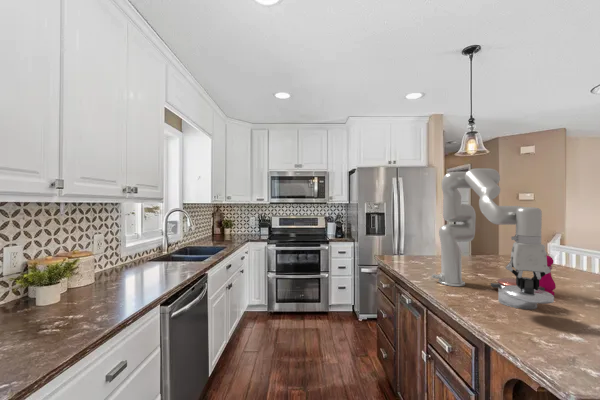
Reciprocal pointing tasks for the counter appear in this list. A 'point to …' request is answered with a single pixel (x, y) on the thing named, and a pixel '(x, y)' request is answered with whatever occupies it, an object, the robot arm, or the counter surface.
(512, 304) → the pot
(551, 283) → the pepper mill
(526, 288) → the lid
